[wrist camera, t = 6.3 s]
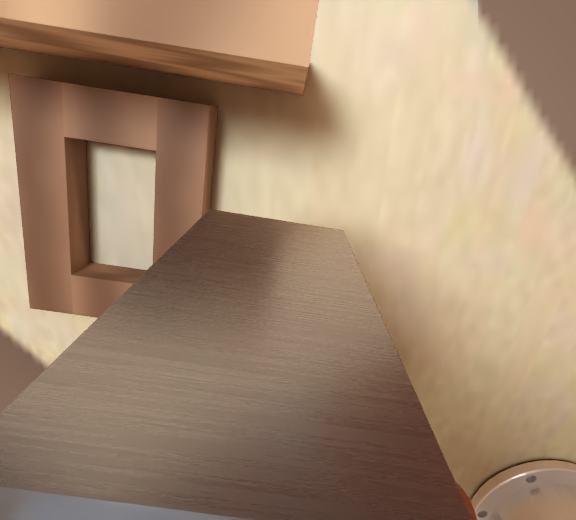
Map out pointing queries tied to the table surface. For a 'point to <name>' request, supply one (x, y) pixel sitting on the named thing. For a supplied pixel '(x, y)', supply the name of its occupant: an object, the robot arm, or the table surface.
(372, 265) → the table surface
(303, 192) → the table surface
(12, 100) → the wooden backboard stand
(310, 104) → the table surface
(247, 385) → the tall grey rectangular prism
